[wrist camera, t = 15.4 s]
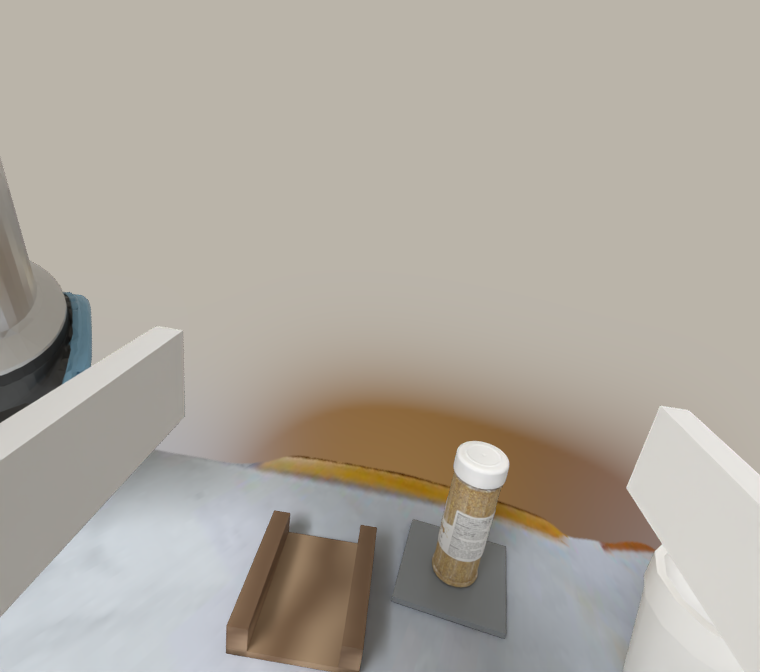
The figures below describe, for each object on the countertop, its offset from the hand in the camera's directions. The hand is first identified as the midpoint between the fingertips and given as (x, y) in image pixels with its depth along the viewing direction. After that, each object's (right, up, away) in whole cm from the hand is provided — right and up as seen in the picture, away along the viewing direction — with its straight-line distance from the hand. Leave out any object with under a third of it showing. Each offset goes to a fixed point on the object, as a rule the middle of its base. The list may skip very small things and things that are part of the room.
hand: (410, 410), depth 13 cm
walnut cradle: (-7, -21, +28) cm, 35 cm away
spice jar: (+6, -21, +32) cm, 38 cm away
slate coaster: (+6, -21, +32) cm, 39 cm away
